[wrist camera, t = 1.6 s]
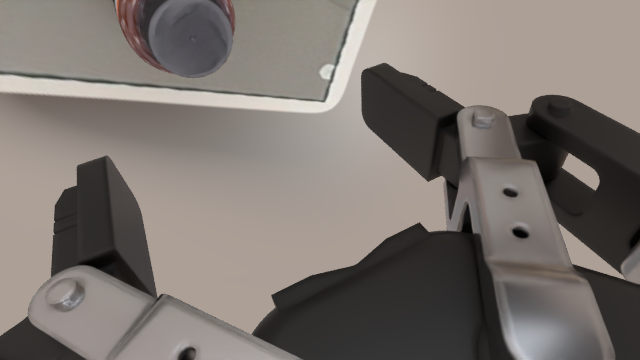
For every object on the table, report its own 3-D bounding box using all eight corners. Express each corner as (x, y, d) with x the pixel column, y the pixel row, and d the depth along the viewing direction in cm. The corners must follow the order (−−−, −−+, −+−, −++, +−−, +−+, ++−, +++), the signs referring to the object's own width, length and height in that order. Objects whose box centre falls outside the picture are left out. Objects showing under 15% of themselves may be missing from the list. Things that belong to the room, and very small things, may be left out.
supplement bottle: (88, -8, 24) (95, 55, 16) (135, -93, 22) (166, -67, 15) (173, 44, 28) (210, 114, 20) (217, -25, 27) (274, 23, 19)
